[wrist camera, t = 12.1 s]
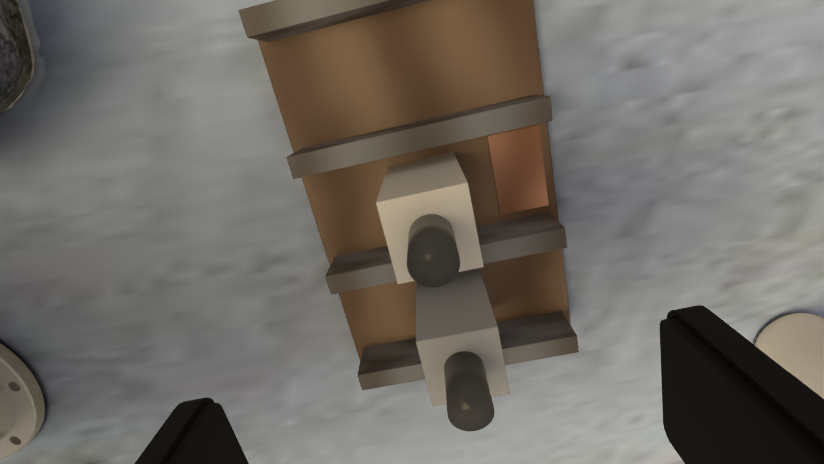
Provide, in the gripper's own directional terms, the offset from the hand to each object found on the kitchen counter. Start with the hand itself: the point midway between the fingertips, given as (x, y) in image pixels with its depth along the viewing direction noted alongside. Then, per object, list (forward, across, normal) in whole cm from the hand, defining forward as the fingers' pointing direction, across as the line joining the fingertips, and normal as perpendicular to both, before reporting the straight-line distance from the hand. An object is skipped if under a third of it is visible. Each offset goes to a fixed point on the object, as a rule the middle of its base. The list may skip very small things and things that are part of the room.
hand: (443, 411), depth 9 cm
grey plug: (+18, 0, +7) cm, 20 cm away
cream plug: (+18, 0, 0) cm, 18 cm away
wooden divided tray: (+20, 0, 0) cm, 20 cm away
